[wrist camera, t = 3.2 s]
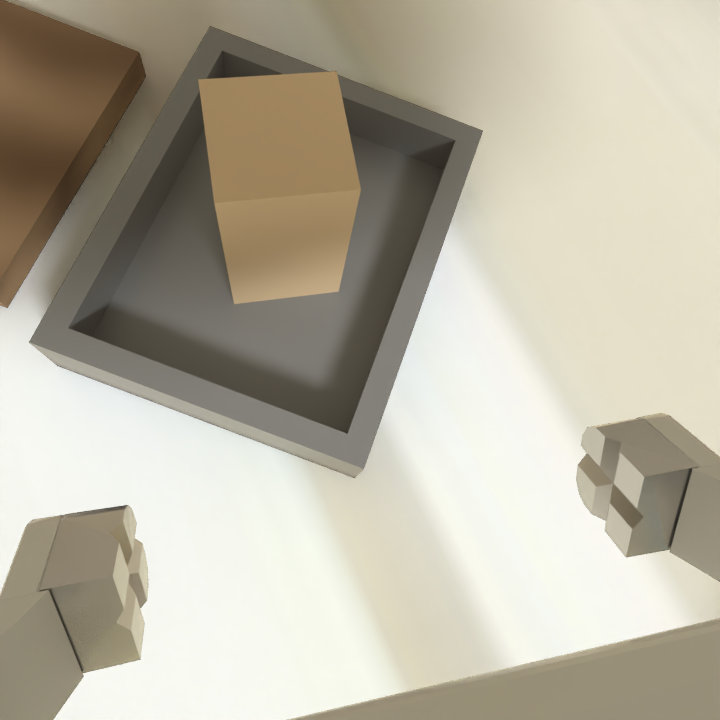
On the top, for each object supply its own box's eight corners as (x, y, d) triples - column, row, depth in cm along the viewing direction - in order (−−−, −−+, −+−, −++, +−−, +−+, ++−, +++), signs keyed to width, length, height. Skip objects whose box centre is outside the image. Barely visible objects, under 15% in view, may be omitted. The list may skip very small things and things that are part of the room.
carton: (220, 206, 27) (197, 74, 20) (321, 197, 28) (335, 66, 20) (233, 304, 26) (214, 203, 18) (338, 291, 27) (360, 189, 19)
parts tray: (216, 75, 30) (210, 25, 27) (464, 170, 30) (482, 130, 28) (57, 365, 25) (28, 342, 22) (354, 478, 25) (363, 468, 23)
